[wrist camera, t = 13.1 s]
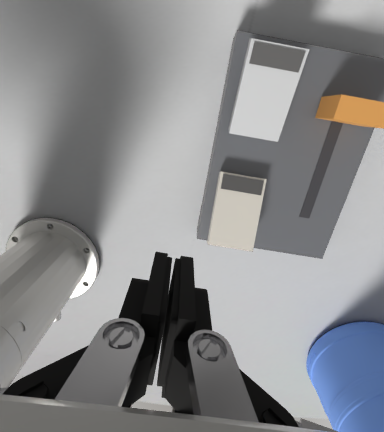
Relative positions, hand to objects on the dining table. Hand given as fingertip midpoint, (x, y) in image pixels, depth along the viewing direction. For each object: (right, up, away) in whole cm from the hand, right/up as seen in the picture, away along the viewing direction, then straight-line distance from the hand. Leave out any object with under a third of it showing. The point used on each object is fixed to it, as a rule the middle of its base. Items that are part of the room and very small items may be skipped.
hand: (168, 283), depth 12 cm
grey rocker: (+8, +15, +13) cm, 21 cm away
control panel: (+11, +10, +20) cm, 25 cm away
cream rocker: (+6, +4, +18) cm, 19 cm away
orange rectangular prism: (+16, +14, +15) cm, 26 cm away
